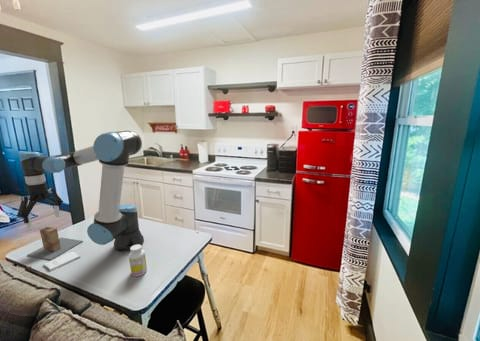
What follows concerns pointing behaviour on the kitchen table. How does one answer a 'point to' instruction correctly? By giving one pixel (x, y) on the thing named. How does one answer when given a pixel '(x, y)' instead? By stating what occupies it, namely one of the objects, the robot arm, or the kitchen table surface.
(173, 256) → the kitchen table surface
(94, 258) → the kitchen table surface
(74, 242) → the mat
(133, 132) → the robot arm
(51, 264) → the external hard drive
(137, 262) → the supplement bottle
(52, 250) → the brown box
